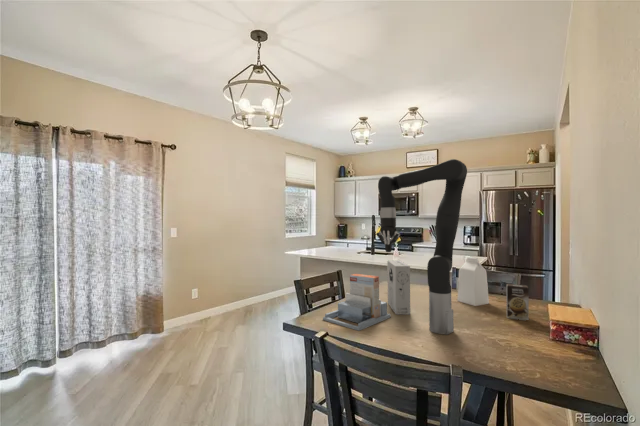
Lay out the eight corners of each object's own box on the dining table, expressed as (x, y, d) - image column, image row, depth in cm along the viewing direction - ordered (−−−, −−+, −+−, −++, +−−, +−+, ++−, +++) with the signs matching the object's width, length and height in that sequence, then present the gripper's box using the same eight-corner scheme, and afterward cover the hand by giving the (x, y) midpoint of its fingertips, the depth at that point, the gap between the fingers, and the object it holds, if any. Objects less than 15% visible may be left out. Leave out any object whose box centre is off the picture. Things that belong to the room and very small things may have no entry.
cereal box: (410, 314, 163) (410, 265, 163) (395, 314, 163) (395, 266, 163) (400, 303, 184) (400, 260, 185) (387, 303, 185) (387, 260, 185)
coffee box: (507, 318, 156) (506, 285, 156) (506, 314, 162) (505, 283, 162) (529, 321, 152) (528, 287, 152) (527, 317, 157) (527, 284, 157)
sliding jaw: (374, 321, 151) (374, 298, 152) (365, 325, 146) (365, 301, 146) (343, 313, 165) (343, 292, 165) (334, 316, 160) (334, 294, 160)
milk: (457, 300, 188) (456, 257, 189) (471, 298, 193) (470, 256, 194) (474, 306, 178) (474, 259, 178) (488, 303, 182) (488, 258, 183)
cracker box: (380, 318, 158) (379, 276, 158) (373, 321, 153) (373, 277, 153) (356, 312, 167) (355, 272, 167) (349, 315, 162) (349, 274, 162)
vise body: (390, 317, 159) (390, 299, 159) (358, 330, 140) (358, 310, 140) (355, 308, 174) (355, 292, 174) (322, 319, 156) (322, 301, 156)
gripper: (404, 216, 154) (404, 252, 154) (381, 216, 164) (381, 250, 164) (395, 216, 149) (396, 253, 149) (372, 217, 158) (372, 251, 158)
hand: (388, 252), depth 156 cm, fingers closed
